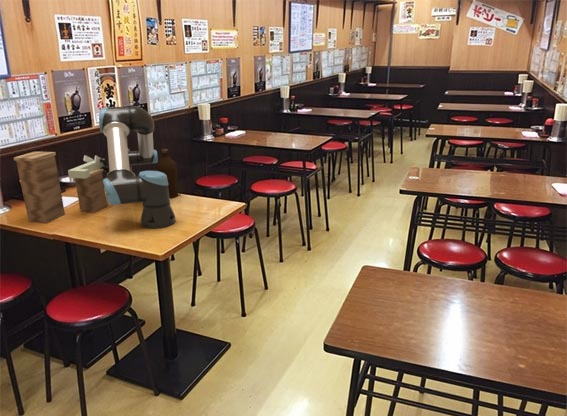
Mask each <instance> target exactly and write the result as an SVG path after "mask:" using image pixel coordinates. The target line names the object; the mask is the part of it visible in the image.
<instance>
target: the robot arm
mask: <svg viewBox="0 0 567 416" xmlns="http://www.w3.org/2000/svg"><path fill="white" fill-rule="evenodd" d="M98 114H99V115H98V121H99V122H98V125H99V126H98V127H99V132H101V133H103V135H104V136H105V137H106V141H107V155H108V158H102V157H99V156H98V155H94V159H93V158H91V157H90V156H89V155H84V156H83V162H85V163H89V162H91V161H95V162H97V163H99V164H101V165H103V164H104V166H103V167H101V168H99V169H103V172H105V173H106V176H105V178H103V184H104V189H105V196H106V201H107V204H109V205H110V206H115V205H116V206H117V205H118V206H121V205H129V204H137V203H142V211H141V216H140V225H141V226H142V227H143V228H147V229H161V228H166V227H169V226H172V225H173V224H175V223H176V215H175V213H174V211H173V208H172V206H171V201H170V199H171V198H169V190H168V180H167V176H166V175H165V174H164V173H162V172H158V171H156V170H143V171H140V172H139V173H138V175H136V174H135V173H134V171H133V169H132V168H133V167H132V166H137V165H149V164H150V165H152V164H157V163H158V162H159V158H158V151H157V150H156V149H154V137H153V136H154V135H153V133H154V131H155V121H154V119H153V117H152V116H151V115H150V113H149V112H148V111H147V110H145V109H143V108H142V107H140V106H139V107H138V106H135V105H134V106H133V105H131V106H108V107H102V108H100V110H99V112H98ZM134 131H135V132H136V133H137V141H138V142H137V143H138V150H134V151H133V150H132V151H130V148H128V138H127V137H128V136H129V134H130V132H134ZM104 159H105V160H104Z"/></svg>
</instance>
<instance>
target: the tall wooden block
mask: <svg viewBox="0 0 567 416" xmlns="http://www.w3.org/2000/svg"><path fill="white" fill-rule="evenodd" d="M56 155H57V153H56V151H31V152H28V153H25V154H22V155H18V156H15V157H13V161H15V162H16V166H17V170H18V171H17V172H18V178H19V181H20V187H21V191H22V196H23V200H24V205H25V210H26V214H27V219H28V222H29V223H37V224H38V223H42V224H49V223H51V222H53V221H55V220H57V219H58V218H60V217H62V216H65V215H66V214H65V213H66V212H65V207H64V201H63V196H62V190H61V185H60V184H61V183H60V179H59V175H58V174H59V173H58V168H57V162H56V157H55V156H56Z"/></svg>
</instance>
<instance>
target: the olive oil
mask: <svg viewBox="0 0 567 416" xmlns="http://www.w3.org/2000/svg"><path fill="white" fill-rule="evenodd" d="M155 171H158V172H162V173H164V174H165V175H166V176H167V180H168V190H169V199H175V198H176V197H178V196H179V188H178V187H179V186H178V167H177V164H176V162H175V161H174V160H173V159H172V158H171V157H170V156H169V149H168V148H163V149H161V158H160V159H158V162H157V163H156V167H155Z"/></svg>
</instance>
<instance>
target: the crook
mask: <svg viewBox="0 0 567 416" xmlns="http://www.w3.org/2000/svg"><path fill="white" fill-rule="evenodd" d="M103 159H104V160H105V159H106V158H103ZM103 166H104V164H103V165H101V164H99V163H97V162H95V161H91V162H89V163H87V162H85V163H84V164H81V165H78V166H75V167H74V168H71V169H68V170H67V174H68V175H67V176H68V178H69V179H75V178H84V179H86V178H88V177H90V174H89V172H91V171H94V170H96V169H99V168H101V167H103Z"/></svg>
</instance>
